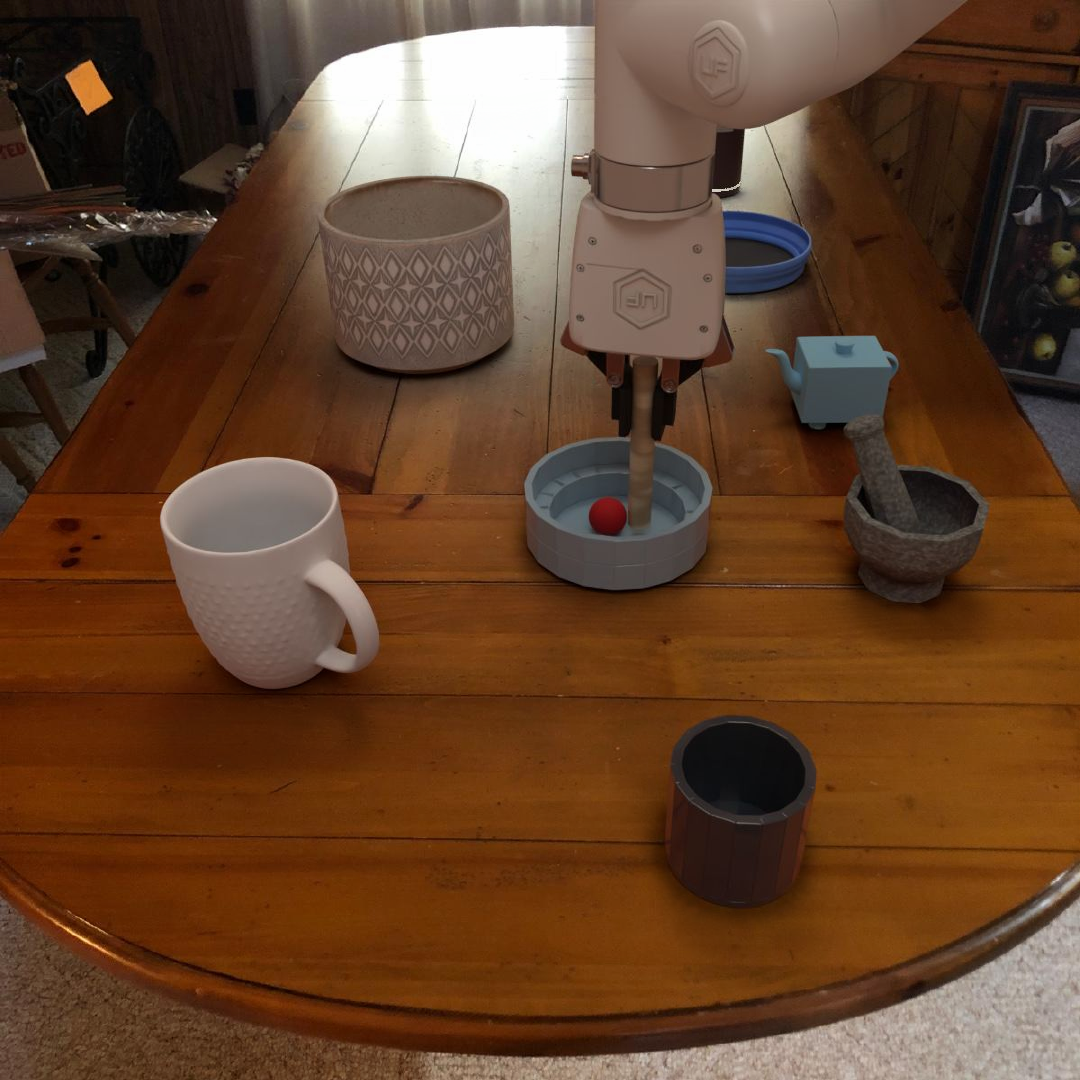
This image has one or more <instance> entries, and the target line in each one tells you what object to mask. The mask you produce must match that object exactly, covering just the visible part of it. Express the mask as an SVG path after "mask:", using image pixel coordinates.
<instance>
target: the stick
mask: <svg viewBox="0 0 1080 1080" xmlns="http://www.w3.org/2000/svg"><path fill="white" fill-rule="evenodd" d="M632 367H633V370H632V413H631V431H630V434H629V438H630V465H629V497H628V525H629V526H630V527H631V528H633V529H637V530H642V529H646V528H648V527H649V526H650V525H651V511H652V490H653V469H654V448H655V442H656V441H654V439H652V438H651V428H652V405H653V393H654V390H655V387H656V386H657V384H658V378H659V360H658V358H657V357H646V356H636V357H635V358H633V360H632Z"/></svg>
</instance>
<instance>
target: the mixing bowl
mask: <svg viewBox="0 0 1080 1080" xmlns="http://www.w3.org/2000/svg"><path fill="white" fill-rule="evenodd" d="M629 465H630V437H628V436H626V437H619V436H609V437H594V438H589V439H584V440H579V441H576V442H572V443H568V444H565V445H563V446H561V447H558V448H557V449H555V450H552V451H551V452H547V453H546V454H545V455H543V456H542V457H541V458H540V459H539V460H538V461H537V462H535V464H533V465H532V466H531V468H530V470H529V471H528V473H527V475H526V478H525V480H524V482H523V493H524V495H523V496H524V517H525V518H524V519H525V520H524V521H525V523H524V524H525V536H526V545H527V548H528V550H529V551H530V552H531V554H532V556H533V557H534V559H535V560H536V561H537V563H538V564H540V565H541V566H542V567H544V568H545V569H546V570H548V571H550V572H551V573H552V574H554V575H555V576H556V577H558V578H560V579H563V580H566V581H568V582H572V583H574V584H577V585H579V586H582V587H587V588H593V589H600V590H601V589H602V590H609V591H622V590H623V591H624V590H625V591H626V590H638V589H639V590H640V589H641V590H642V589H647V588H650V587H654V586H657V585H662V584H665V583H668V582H671V581H674V579H677V578H678V577H680V576H682V575H683V574H685V573H687V572H689V571H690V570H692V569H693V568H694V567H695V566H696V565H697V563H698V562H699V561H700V560H701V559H702V558H703V556H704V555H705V553H706V551H707V546H708V542H709V536H710V526H711V516H712V515H711V513H712V504H713V503H712V501H713V492H714V489H713V485H712V482H711V479H710V477H709V474H708V471H706V470H705V468H704V467H702V465H700V463H699V462H698V461H697V460H696V459H695V458H693V456H690V455H688V454H686V453H685V452H683V451H681V450H679V449H678V448H675V447H674V446H671V445H668V444H663V443H661V442H658V441H655V448H654V469H653V490H652V511H651V525H650V526H649V527H648V528H646V529H642V530H637V529H633V528H631V527H630V526H629V525H628V497H629ZM605 497H611V498H615V499H617V500H619V501H620V502H621V503H622V504H623V505H624V507H625V509H626V512H627V521H626V524H625V526H624V528H623V529H622V530H621V531H620V532H618V533H617V534H615V535H611V536H605V535H601V534H599V533H597V532H596V531H595V530H594V529H593V528H592V527H591V525H590V522H589V511H590V508H591V506H592V505H593V504H594V503H595V502H596V501H597V500H599V499H601V498H605Z"/></svg>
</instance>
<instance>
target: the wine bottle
mask: <svg viewBox="0 0 1080 1080" xmlns="http://www.w3.org/2000/svg"><path fill="white" fill-rule="evenodd" d="M745 135H746V129H734V128H728V127H724V126H720V125H717V131H716V145H715V159H714V173H713V187H712V189H725V188H726V189H727V188H731V187H734V186H736V185H737V184H739V182H740V181H741V182H742V169H743V157H744V148H745V147H744V145H745ZM740 187H741V185H740V186H739V187H737V188H736V189H733V190H729V191H721V192H712V193H714V194H716V195H717V196H718V197H719V198H725V197H730V196H733V195H736V194H738V192H739V191H740Z"/></svg>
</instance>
